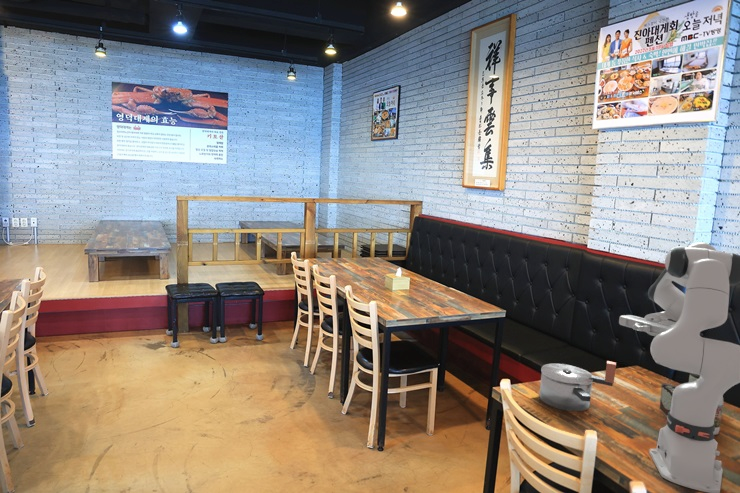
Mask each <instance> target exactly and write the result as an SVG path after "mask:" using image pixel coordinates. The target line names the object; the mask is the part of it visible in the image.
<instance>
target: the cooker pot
mask: <svg viewBox="0 0 740 493" xmlns="http://www.w3.org/2000/svg"><path fill="white" fill-rule="evenodd" d="M592 387H593V383H591V384H589V385H570V384H564V383H560V382H557V381H554V380H552V379H549V378H547V377H546V376H544V375H543V374H542V373H541V376H540V385H539V392H538V393H539V394H538V395H539V399H540V400H541V401H542V402H543V403H545V404H546V405H548V406H550V407H552V408H556V409H559V410H562V411H567V412H584V411H587V410H588V409H589V408H590V404H591V397H592Z"/></svg>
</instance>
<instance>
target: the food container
mask: <svg viewBox="0 0 740 493" xmlns="http://www.w3.org/2000/svg"><path fill="white" fill-rule="evenodd" d="M677 386H678V385H676V384H675V385H674V384H671V383H668V382H667V383H666V382H662V383H661V385H660V389H661V390H660V401H659V410H661V412H662V413H663V414H664V416H665V417H666V418H667V415H668V412H669V411H670V409H671V402H672V395H673V391H674V389H675V388H676V387H677Z"/></svg>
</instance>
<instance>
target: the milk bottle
mask: <svg viewBox="0 0 740 493" xmlns="http://www.w3.org/2000/svg"><path fill="white" fill-rule="evenodd" d="M723 396H724V394H723V395H722V397H721V398H720V400H719V403H718V406H717V410H716V414H715V419H714V423H715V434H714V436H716V435H719V432H720V429H721V422H722V415H723V409H724V397H723Z"/></svg>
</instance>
